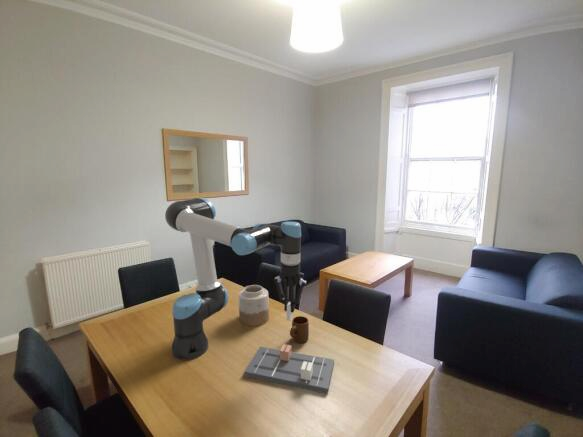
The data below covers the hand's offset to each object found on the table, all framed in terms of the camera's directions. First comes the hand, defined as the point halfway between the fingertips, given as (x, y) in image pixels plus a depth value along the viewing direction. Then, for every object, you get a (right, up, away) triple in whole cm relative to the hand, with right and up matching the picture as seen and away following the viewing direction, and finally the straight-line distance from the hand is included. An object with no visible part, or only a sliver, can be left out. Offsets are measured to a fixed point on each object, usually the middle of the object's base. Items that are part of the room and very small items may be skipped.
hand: (289, 318), depth 116 cm
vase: (-19, -13, +37) cm, 43 cm away
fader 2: (+7, -18, -8) cm, 21 cm away
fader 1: (-2, -17, +3) cm, 17 cm away
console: (+1, -20, -1) cm, 20 cm away
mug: (+4, -16, +17) cm, 24 cm away
